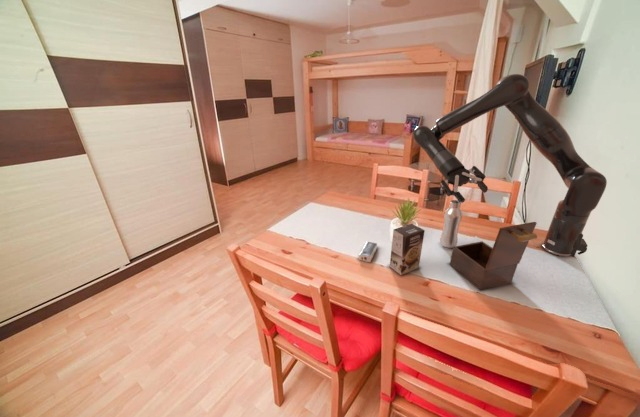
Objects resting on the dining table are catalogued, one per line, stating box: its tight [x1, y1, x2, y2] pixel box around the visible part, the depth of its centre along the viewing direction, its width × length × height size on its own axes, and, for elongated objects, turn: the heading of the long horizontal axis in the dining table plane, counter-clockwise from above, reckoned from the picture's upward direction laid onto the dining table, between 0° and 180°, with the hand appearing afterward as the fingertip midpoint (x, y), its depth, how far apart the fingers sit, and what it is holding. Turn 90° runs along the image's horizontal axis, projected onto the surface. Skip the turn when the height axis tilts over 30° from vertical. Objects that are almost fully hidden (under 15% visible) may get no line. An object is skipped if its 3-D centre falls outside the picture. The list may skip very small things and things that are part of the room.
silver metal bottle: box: [439, 199, 464, 249], centre depth 106 cm, size 6×7×20 cm
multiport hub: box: [358, 241, 378, 263], centre depth 106 cm, size 4×11×2 cm, turn 155°
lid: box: [485, 221, 538, 270], centre depth 78 cm, size 15×13×5 cm
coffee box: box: [389, 223, 426, 276], centre depth 95 cm, size 9×6×16 cm
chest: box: [449, 241, 518, 291], centre depth 92 cm, size 15×13×8 cm
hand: (474, 196), depth 92 cm, fingers open, 8 cm apart
